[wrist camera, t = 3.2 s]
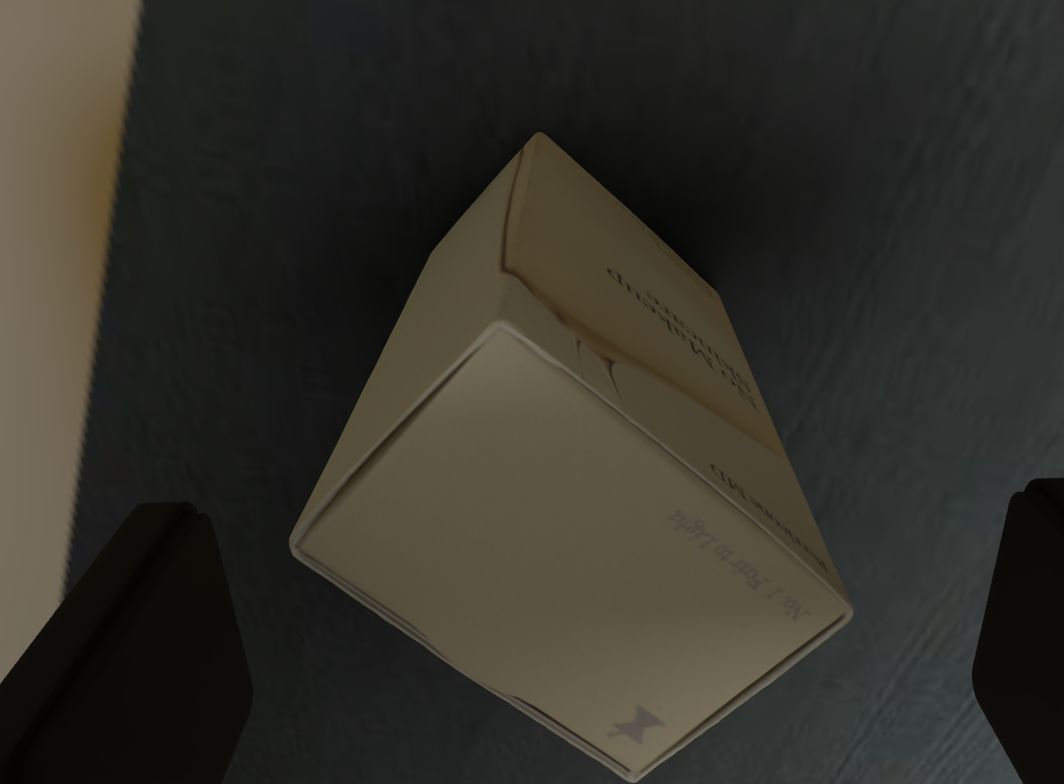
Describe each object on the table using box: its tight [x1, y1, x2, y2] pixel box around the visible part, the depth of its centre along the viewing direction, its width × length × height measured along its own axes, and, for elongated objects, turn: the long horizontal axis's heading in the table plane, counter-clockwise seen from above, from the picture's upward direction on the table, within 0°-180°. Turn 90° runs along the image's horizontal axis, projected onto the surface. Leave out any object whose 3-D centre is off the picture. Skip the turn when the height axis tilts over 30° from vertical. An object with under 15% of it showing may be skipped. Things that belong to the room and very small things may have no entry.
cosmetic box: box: [289, 132, 854, 783], centre depth 17 cm, size 6×4×12 cm
